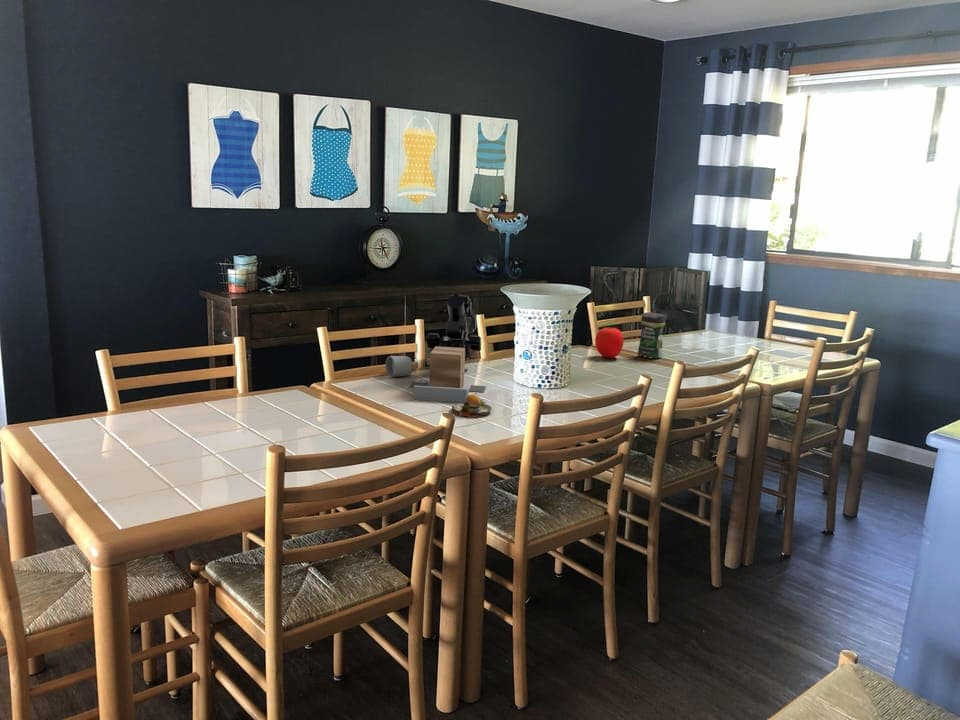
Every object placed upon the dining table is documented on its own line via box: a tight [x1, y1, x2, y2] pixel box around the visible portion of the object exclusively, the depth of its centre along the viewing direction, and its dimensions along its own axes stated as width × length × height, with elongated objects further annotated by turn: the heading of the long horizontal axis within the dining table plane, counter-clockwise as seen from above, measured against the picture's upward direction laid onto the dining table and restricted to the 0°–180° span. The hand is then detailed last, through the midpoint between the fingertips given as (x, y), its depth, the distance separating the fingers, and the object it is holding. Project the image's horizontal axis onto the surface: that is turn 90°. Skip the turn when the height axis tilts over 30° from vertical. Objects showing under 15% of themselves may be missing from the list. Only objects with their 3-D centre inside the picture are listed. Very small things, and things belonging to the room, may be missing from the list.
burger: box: [451, 392, 493, 419], centre depth 230 cm, size 12×12×8 cm
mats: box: [408, 381, 487, 393], centre depth 259 cm, size 8×25×1 cm, turn 85°
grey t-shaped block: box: [413, 385, 470, 403], centre depth 246 cm, size 8×16×4 cm, turn 85°
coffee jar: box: [637, 311, 666, 359], centre depth 322 cm, size 10×8×19 cm
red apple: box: [594, 326, 624, 359], centre depth 317 cm, size 11×11×13 cm
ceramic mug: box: [385, 355, 414, 378], centre depth 273 cm, size 10×8×7 cm
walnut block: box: [428, 345, 466, 388], centre depth 256 cm, size 12×10×13 cm
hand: (451, 362), depth 266 cm, fingers closed
